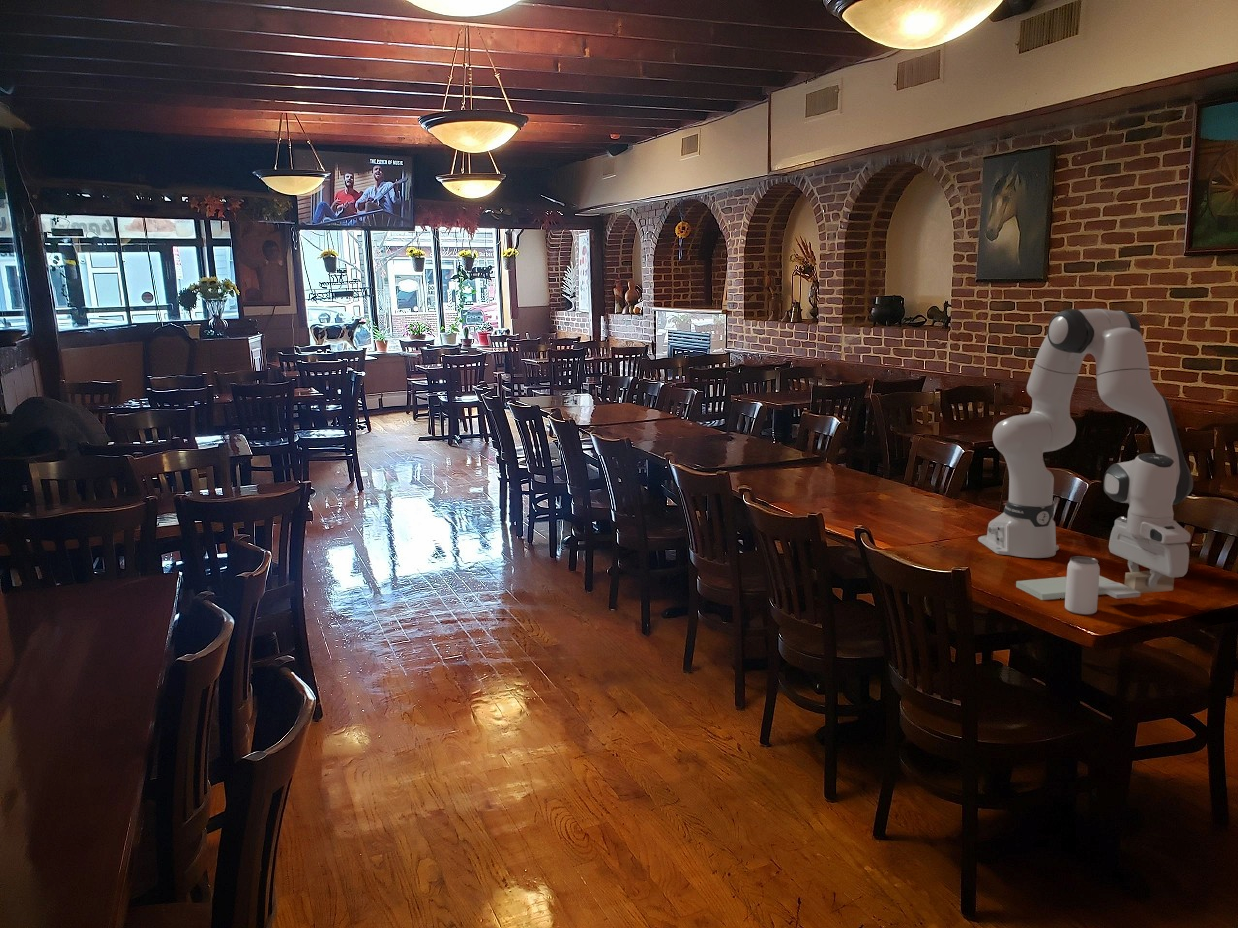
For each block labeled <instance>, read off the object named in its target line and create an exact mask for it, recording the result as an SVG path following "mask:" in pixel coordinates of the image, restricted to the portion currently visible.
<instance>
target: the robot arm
mask: <svg viewBox="0 0 1238 928" xmlns="http://www.w3.org/2000/svg"><path fill="white" fill-rule="evenodd" d="M1140 324H1141V323H1140V322H1139V319H1138V318H1137V316H1135V315H1134V314H1132V313H1130V312H1127V311H1123V310H1112V309H1105V308H1089V309H1088V308H1087V309H1085V308H1083V309H1078V308H1069V309H1065V310H1061V311H1059V312H1057V313H1055V314H1054V315H1053V316H1052V318H1051V319H1050V321H1049V324H1048V326H1047V331H1046V332H1047V333H1046V335H1045V336H1044V338H1043V341H1042V343H1041V345H1040V347H1039V349H1038V351H1037V354H1036V357H1035V359H1034V362H1033V366H1032V369H1031V372H1030V376H1029V377H1028V380H1027V385H1026V393H1027V394H1028V396H1029V397H1031V401H1032V403H1031V410H1030V412H1029V413H1027V414H1018V415H1012V416H1010V417H1007V418H1005V419H1003V420H1001V421H999V422H998V423H997V424H996V425H995V426H994V428H993V431H992V437H991V438H992V442H993V445H994V447H995V449H997V451H998V452H999V453H1000V454H1001V455H1002V456H1003V458H1004V460H1005V463H1006V465H1007V470H1008V479H1009V480H1008V482H1009V483H1008V499H1007V500H1002V502H1003V504H1002V505H1003V506H1004V509H1003V512H1002V513H1001V514H999V515H998V516H996V517H995V518H993V519H991V520H990V521H989V522H988V524H987V525H988V526H987V534H985V535H981V536H979V537H978V538H977V541H978V542H979V543H981V544H982V545H984V546H985V547H986V548H987V549H989V550H991V551H992V552H994V553H995V554H997V555H1003V556H1004V555H1006V556H1014V557H1019V558H1027V559H1028V558H1031V559H1044V558H1051V557H1054V556H1055V555H1056V554H1057V551H1058V550H1059V549H1060V547H1059V545H1058V544H1057V538H1056V537H1057V534H1056V521H1055V520H1054V519H1053V517H1054V515H1055V514H1054V513H1055V505H1054V503H1053V501H1054V500H1053V499H1054V498H1053V497H1054V485H1055V478H1054V474H1053V473H1052V472H1051V470H1049V469H1047V467H1046V464H1045V461H1044V456H1043V455H1044V453H1049V452H1054V451H1058V450H1061V449H1062V448H1064V447H1066V446H1068V445H1070V444H1071V443H1072V442H1073V441H1074V439H1075V437H1076V435H1077V434H1076V433H1077V426H1076V423H1075V421H1074V420H1073V418H1072V417H1071V410H1070V409H1071V408H1070V407H1071V399H1072V396H1073V392H1074V389H1075V386H1076V383H1077V380H1078V376H1079V374H1080V371H1081V367H1082V364H1083V361H1084V359H1085V357H1086V355H1088V354H1089V355H1092V356H1093V358H1094V361H1095V370H1096V371H1095V375H1096V389H1097V392H1098V396H1099V398H1100V399H1101V401H1102V402H1103V403H1104V404H1105V405H1106V406H1108V407H1109V408H1111V409H1112V410H1113V411H1114V410H1115V411H1116V412H1119V413H1122V414H1124V415H1128V416H1131V417H1133V418H1136V419H1138V420H1139V421H1141V422H1143V424H1145V426H1147V428H1148V429H1149V432H1150V435H1151V439H1152V444H1153V447H1154V451H1155V453H1154V452H1146V453H1145V452H1144V453H1141V454H1139V455H1137V456H1135V458H1134V459H1132V460H1129V461H1123V462H1117V463H1115V462H1114V463H1113V464H1111V465H1110V466H1109V467H1108V468H1107V469H1106V471H1105V473H1104V475H1103V485H1102V487H1103V491H1104V493H1105V495H1107V496H1108V497H1109V498H1110V499H1111V500H1113V501H1114V502H1117V503H1123V504H1124V503H1125V504H1128V505H1129V507H1128V510H1127V517H1126V516H1123V515H1122V516H1119V517H1117V518H1116V519H1115V520H1114V525H1113V527H1112V530H1111V532H1110V536H1109V543H1108V549H1109V552H1110V553H1111V554H1113V555H1115V556H1118V557H1120V558H1123V559H1125V560H1127V567H1128V569H1129V572H1140V568H1139V566H1141V567H1144V568H1147V569H1149V571H1150V573H1151V576H1150V578H1149V579H1146V583H1145V585H1146V586H1148V587H1150V588H1155V587H1157V580H1158V579H1159V578H1160V577H1161V576H1162V574H1163V575H1166V576H1168V577H1172V578H1173V577H1174V578H1182V577H1183V578H1184V576H1185V575H1186V574H1187V572H1188V569H1189V563H1190V559H1189V558H1190V549H1189V546H1188V544H1187V543H1190V541H1191V533H1190V532H1189V531H1188V530H1186V529H1185V528H1184V527H1182V526H1181V525H1180V524H1179V523H1178V522H1177V521H1176V520H1174V509H1173V505H1177V504H1179V503H1181V502H1183V501H1184V500H1185V499H1186V498H1187V497H1188V496H1189V495H1190V494H1191V492H1192V490H1193V488H1194V478H1193V474H1192V473H1191V470H1190V468H1189V466H1188V464H1187V462H1186V458H1185V456H1184V452H1183V448H1182V443H1181V441H1180V438H1179V434H1178V430H1177V425H1176V422H1175V418H1174V415H1173V413H1172V409H1171V406H1170V403H1169V401H1168V400H1167V397H1165V396H1164V395H1162V394H1161V393H1160V392H1159V391H1158V390H1157V389H1156V387H1155V385H1154V383H1153V379H1152V377H1151V371H1150V370H1151V369H1150V362H1149V356H1148V351H1147V347H1146V344H1145V341H1144V338H1143V336H1142V333H1141V325H1140Z"/></svg>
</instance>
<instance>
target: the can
mask: <svg viewBox="0 0 1238 928" xmlns="http://www.w3.org/2000/svg"><path fill="white" fill-rule="evenodd" d="M1098 563H1099V560H1098V559H1096V558H1093V557H1090V556H1084V555H1083V556H1080V555H1077V556H1075V555H1074V556H1071V557H1069V562H1068V563H1067V569H1066V577H1067V580H1066V595H1065V598H1064V609H1065V610H1066V611H1067V612H1069V613H1072V614H1075V615H1080V616H1081V615H1082V616H1089V615H1090V616H1091V615H1094V614H1095V613H1097V611H1098V600H1099V595H1098V589H1099V575H1100V572H1101V567H1100V564H1098Z"/></svg>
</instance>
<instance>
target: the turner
mask: <svg viewBox="0 0 1238 928" xmlns="http://www.w3.org/2000/svg"><path fill="white" fill-rule="evenodd" d="M1139 571H1140V570H1139ZM1124 573H1125V574H1124V584H1123V583H1120V582H1116V583H1105V584H1099V589H1098V590H1099V591H1101V592H1103V593H1106V594H1105V595H1108V596H1110V597H1112V598H1115V599H1117V600H1118V599H1127V598H1128V599H1131V598H1138V597H1141V594H1148V593H1158V592H1159V593H1160V592H1161V593H1162V592H1170V591H1171V592H1172V591H1174V585H1175V584H1174V583H1175V577H1173V578H1172V577H1168V576H1166V575H1163V574H1162V576H1161V577H1160V578H1159V579H1158V580H1157V587H1155V588H1150V587H1148V586H1146V585H1145V583H1146V579H1149V578H1150V576H1151V573H1150V570H1143V571H1142V570H1141V571H1140V572H1130V571H1128V572H1124Z"/></svg>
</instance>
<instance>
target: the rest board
mask: <svg viewBox="0 0 1238 928" xmlns="http://www.w3.org/2000/svg"><path fill="white" fill-rule="evenodd" d="M1066 580H1067V576H1060V577H1049V578H1037V579H1025V580H1024V579H1023V580H1016V581H1015V588H1017V589H1019V590H1021V591H1023V592H1025V593H1027V594H1028V595H1031V596H1033V597H1035V598H1037V599H1039V600H1041V601H1049V600H1058V599H1060V598H1061V599H1065V595H1066ZM1105 583H1117V582H1116V581H1114V580H1111V579H1109V578H1107V577H1104V576H1102V575H1100V574H1099V584H1105ZM1101 595H1107V594H1106V593H1103V592H1101V591H1099V590H1098V596H1101ZM1061 599H1060V600H1061Z"/></svg>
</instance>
